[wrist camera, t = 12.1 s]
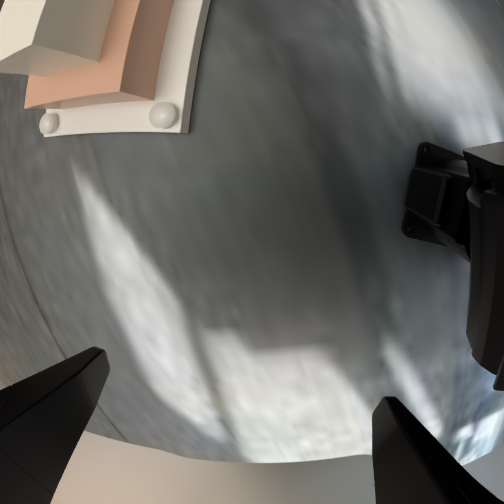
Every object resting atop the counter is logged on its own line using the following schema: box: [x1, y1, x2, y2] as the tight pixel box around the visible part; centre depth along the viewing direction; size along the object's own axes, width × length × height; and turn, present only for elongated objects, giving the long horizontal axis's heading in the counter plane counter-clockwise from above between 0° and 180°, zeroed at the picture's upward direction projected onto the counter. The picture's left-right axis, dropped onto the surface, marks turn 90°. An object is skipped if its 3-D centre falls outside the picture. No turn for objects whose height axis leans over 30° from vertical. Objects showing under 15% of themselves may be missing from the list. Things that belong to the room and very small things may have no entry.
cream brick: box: [0, 0, 115, 77], centre depth 7 cm, size 4×4×5 cm
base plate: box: [24, 0, 211, 137], centre depth 12 cm, size 12×12×6 cm
